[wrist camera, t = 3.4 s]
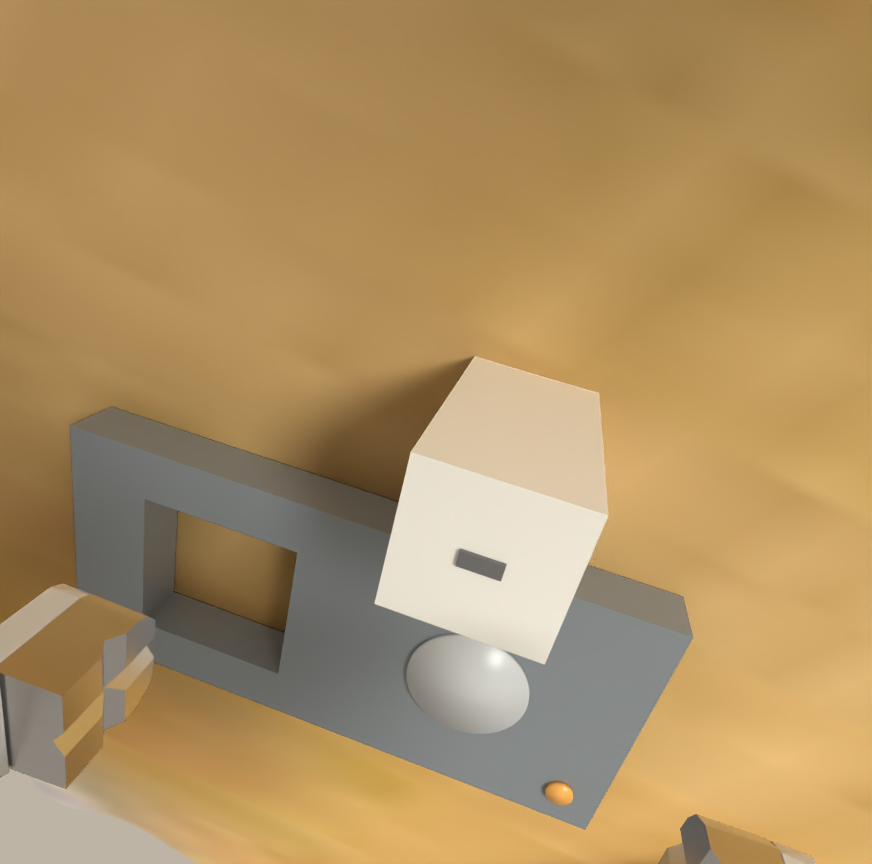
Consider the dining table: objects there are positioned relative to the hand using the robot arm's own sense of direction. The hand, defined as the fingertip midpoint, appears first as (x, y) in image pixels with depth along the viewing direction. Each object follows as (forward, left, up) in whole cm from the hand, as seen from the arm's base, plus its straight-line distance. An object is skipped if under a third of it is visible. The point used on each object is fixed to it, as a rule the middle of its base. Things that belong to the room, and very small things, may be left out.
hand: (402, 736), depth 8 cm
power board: (+4, +9, -12) cm, 15 cm away
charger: (0, 0, -12) cm, 12 cm away
